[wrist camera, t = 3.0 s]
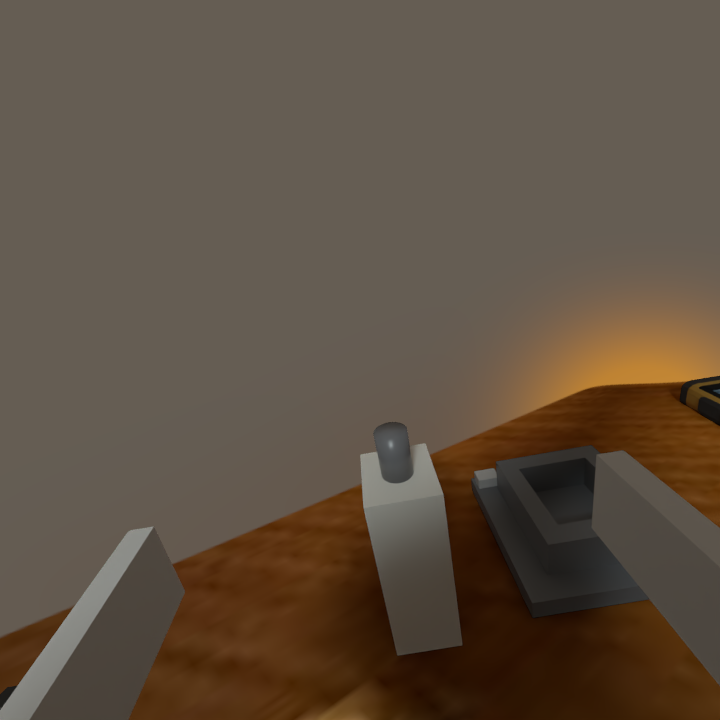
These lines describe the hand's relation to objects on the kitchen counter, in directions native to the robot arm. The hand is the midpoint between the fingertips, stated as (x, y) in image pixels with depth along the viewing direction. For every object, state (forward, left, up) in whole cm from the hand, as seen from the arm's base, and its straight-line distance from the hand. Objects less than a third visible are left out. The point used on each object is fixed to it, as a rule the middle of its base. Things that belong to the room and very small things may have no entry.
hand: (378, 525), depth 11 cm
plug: (-1, -10, -19) cm, 22 cm away
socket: (-15, -15, -19) cm, 29 cm away
